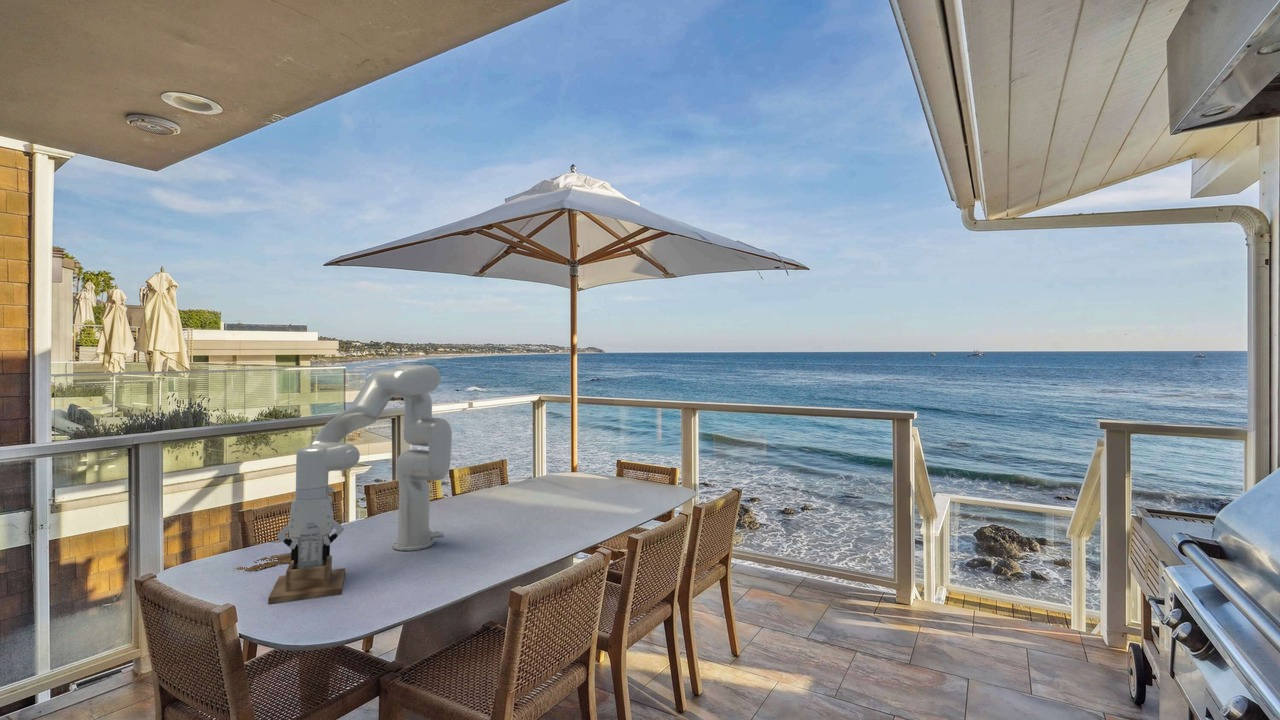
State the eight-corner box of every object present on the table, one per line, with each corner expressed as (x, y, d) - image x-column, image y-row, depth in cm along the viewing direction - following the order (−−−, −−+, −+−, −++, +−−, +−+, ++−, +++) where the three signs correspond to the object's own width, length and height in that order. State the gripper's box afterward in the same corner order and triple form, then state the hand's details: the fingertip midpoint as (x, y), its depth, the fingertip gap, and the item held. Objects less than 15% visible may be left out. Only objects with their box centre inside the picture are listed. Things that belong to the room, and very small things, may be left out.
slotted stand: (345, 573, 159) (345, 550, 159) (341, 594, 145) (341, 568, 145) (279, 581, 153) (279, 557, 153) (268, 604, 138) (268, 577, 138)
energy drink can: (327, 573, 152) (328, 517, 152) (315, 581, 146) (316, 524, 146) (305, 573, 152) (306, 517, 152) (292, 581, 146) (293, 524, 146)
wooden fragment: (238, 576, 157) (238, 572, 157) (228, 567, 164) (228, 563, 164) (336, 554, 176) (336, 551, 176) (323, 547, 183) (323, 544, 183)
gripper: (349, 487, 156) (347, 552, 156) (276, 493, 149) (275, 560, 149) (347, 493, 150) (346, 561, 149) (271, 499, 142) (269, 570, 142)
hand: (310, 560), depth 149 cm, fingers closed on energy drink can, 6 cm apart
